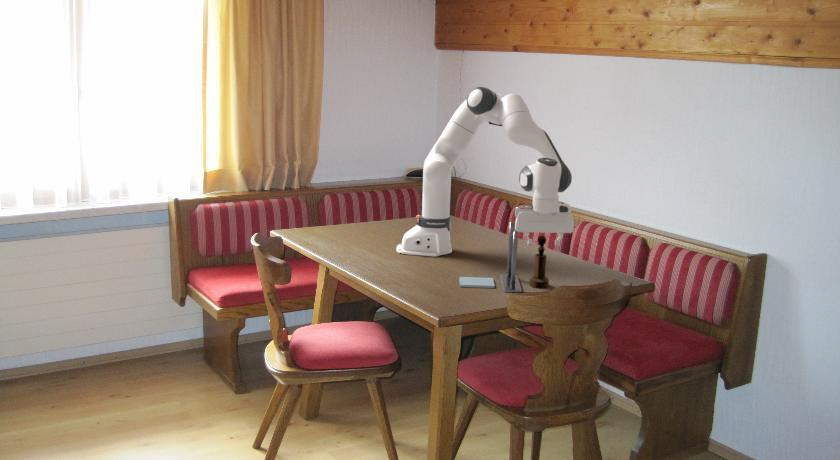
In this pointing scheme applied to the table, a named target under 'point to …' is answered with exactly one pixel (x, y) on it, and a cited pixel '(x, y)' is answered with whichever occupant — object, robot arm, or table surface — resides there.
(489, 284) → the mat
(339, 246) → the table surface
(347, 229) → the table surface
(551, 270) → the table surface
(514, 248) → the retort stand
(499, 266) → the table surface
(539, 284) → the wooden turned spindle
